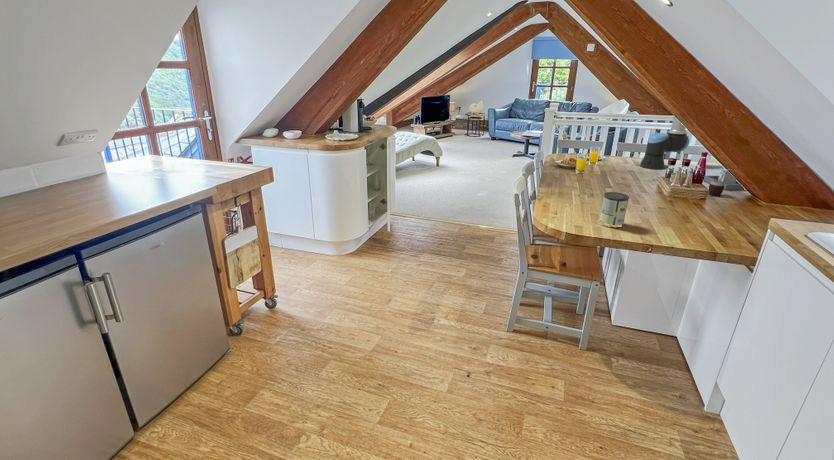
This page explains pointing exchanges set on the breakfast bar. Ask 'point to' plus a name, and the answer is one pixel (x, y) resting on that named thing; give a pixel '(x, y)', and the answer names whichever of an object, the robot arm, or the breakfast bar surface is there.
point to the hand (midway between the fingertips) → (732, 150)
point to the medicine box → (727, 177)
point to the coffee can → (614, 208)
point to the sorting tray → (727, 186)
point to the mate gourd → (716, 187)
